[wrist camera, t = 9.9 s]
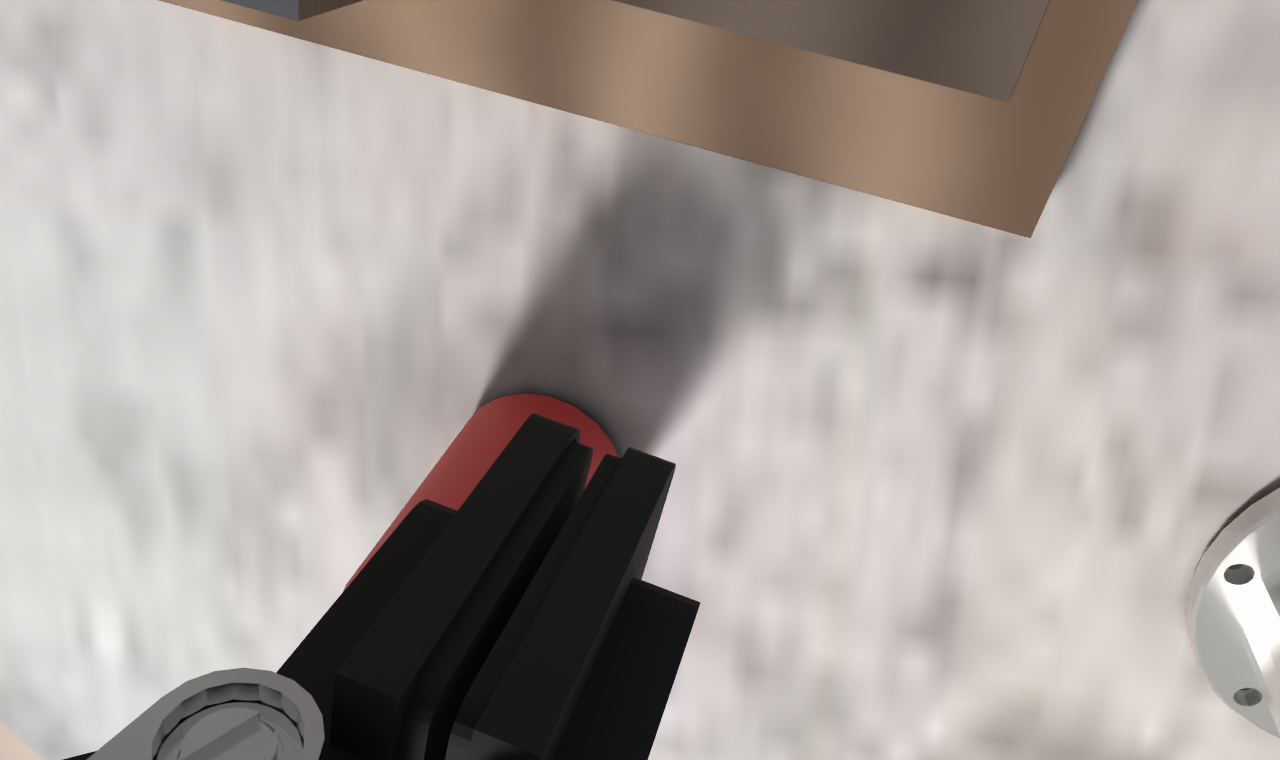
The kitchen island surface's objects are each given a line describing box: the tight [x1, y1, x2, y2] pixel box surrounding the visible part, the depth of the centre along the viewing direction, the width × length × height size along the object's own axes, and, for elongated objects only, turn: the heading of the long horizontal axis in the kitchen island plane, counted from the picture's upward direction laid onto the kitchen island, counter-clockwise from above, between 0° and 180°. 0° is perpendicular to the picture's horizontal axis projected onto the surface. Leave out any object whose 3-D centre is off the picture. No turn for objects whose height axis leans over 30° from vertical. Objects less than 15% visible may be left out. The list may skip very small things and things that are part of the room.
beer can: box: [343, 393, 618, 592], centre depth 32 cm, size 7×7×12 cm
